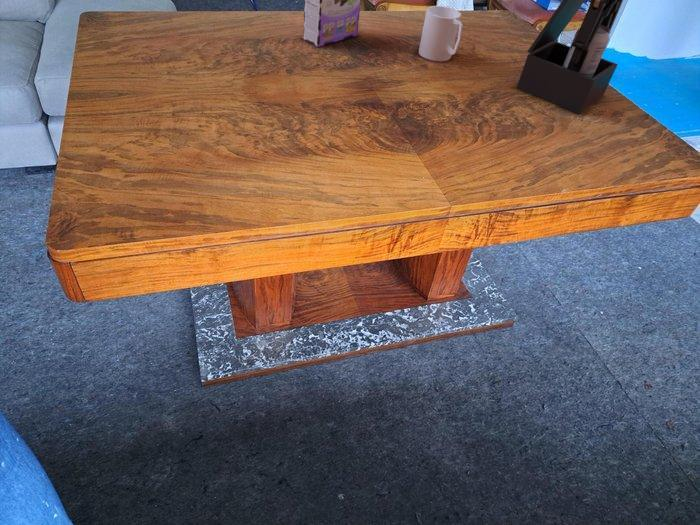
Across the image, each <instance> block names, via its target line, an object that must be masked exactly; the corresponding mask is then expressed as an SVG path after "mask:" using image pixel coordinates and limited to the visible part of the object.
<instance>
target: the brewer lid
mask: <svg viewBox="0 0 700 525" xmlns="http://www.w3.org/2000/svg"><path fill="white" fill-rule="evenodd" d="M585 2H586V0H562V1H560V3H559V5H558V6H557V8H556V9H555V10H554V12H553V14H552V15H551V17H550V18H549V19H548V21H547V22H546V23H545V25H544V27H543V28H542V30H541V31H540V32H539V34H538V35H537V37H535V39H534V41H533V42H532V43H531V45H530V47H529V48H528V50H527V53H529V54H530V53H532V52H534V51H536V50H538V49H540V48H542V47H544V46H546V45H548V44H549V43H551V42H553V41H557V40H558V39H559V38H560V36H561V35H562V33H563V32H564V31H565V29H566V28H567V27H568V25H569V24H570V22H571V21H572V19H574V17H575V15H576V14H577V13H578V11H579V10H580V9H581V7H582V6H583V4H585Z"/></svg>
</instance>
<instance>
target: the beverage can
mask: <svg viewBox="0 0 700 525" xmlns="http://www.w3.org/2000/svg"><path fill="white" fill-rule="evenodd" d="M579 29H580V27H579V28H578V29H577V30H576V32H575V34H574V35H573V39H572V41H571V43H570V45H569V46H570V49H569V51H568V54H567V56H566V59H565V61H564V64H563V66H562V67H565V68H567V66H568V64H569V62H570V59H571V57H572V54H573V52H574V49H575V47H573V46H572V43H573V42H574V40H575V38H576V36H577V34H578V31H579ZM609 31H610V30H609V28H607V27H606V26H603V25H601V24H600V26H599V28H598V30H597V32H596V34H595V36H594V38H593V40H592V42H591V43H590V45H589V48H588V49H587V50H589V51H588V54H587V56H586V58H585V61H584V63H583V65H582V68H581V70H580V72H579V73H580V74H583V75H585V76H588V77H590V78H592V77H593V75H594V73H595V71H596V68H597V66H598V64H599V62H600V60H601V58H602V57H603V55H604V52H605V51H606V48H607V46H608V44H609V42H610V34H609ZM610 32H611V31H610Z"/></svg>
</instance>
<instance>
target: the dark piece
mask: <svg viewBox="0 0 700 525" xmlns="http://www.w3.org/2000/svg"><path fill="white" fill-rule="evenodd" d="M570 46H571V45H567V44H564V43H561V42H559V41H557V40H555V41H553V42H551V43H549V44H547V45H545V46H543V47H542V48H540V49H538V50H536V51H534V52H532V53H529V54H527V56H526V59H525V62H524V65H523V68H522V71H521V73H520V77H519V80H518V82H517V85H516V89H518V90H520V91H523V92H525V93H528V94H529V95H532V96H535V97H537V98H539V99H542V100H544V101H546V102H548V103H551V104H554V105H555V106H557V107H560V108H562V109H564V110H567V111H570V112H571V113H575V114H577V115H581V114H582V113H584V111H586V110H587V109H588V108H590V107H591V106H592V105H593V104H595V103H596V102H598V101H599V100H600V99H601V98H603V97H604V95H605V93H606V90H607V88H608V86H609V84H610V82H611V80H612V78H613V76H614V73H615V72H616V69H617V67H618V66H619V64H618V63H616V62H613V61H610V60H608V59H605V58H602V57H601V60H600V62H599V64H598V66H597V68H596V71H595V73H594V75H593V77H592V78H590V77H588V76H585V75H583V74H580V73H578V72H575V71H572V70H570V69H567V68H565V67H562V66H563V64H564V61H565V59H566V56H567V54H568V51H569V49H570Z"/></svg>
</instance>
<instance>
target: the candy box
mask: <svg viewBox="0 0 700 525" xmlns="http://www.w3.org/2000/svg"><path fill="white" fill-rule="evenodd" d="M361 1H362V0H304V7H303V9H304V10H303V32H302V33H303V37H302V39H303V40H305V41H306V42H308V43H310V44H311V45H313V46H315V47H317V48H319V47H323V46H325V45H330V44H333V43H336V42H339V41H343V40H346V39H349V38H353V37H356V36H358V34H359V22H360V12H361Z"/></svg>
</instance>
